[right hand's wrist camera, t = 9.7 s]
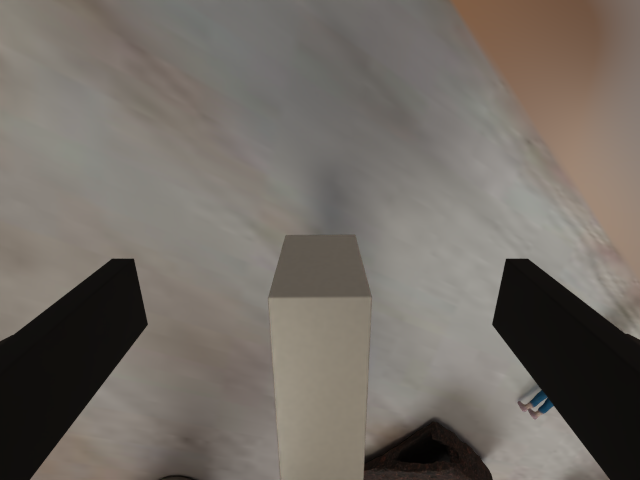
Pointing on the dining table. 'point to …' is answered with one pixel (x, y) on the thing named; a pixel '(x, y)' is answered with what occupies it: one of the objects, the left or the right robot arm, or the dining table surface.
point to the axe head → (428, 459)
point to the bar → (320, 357)
